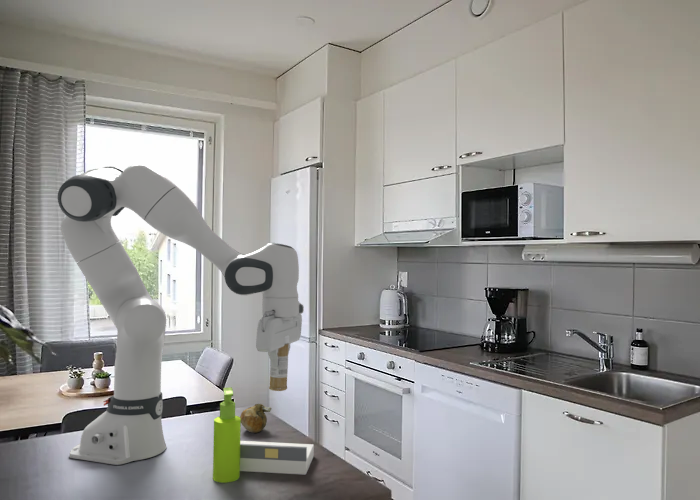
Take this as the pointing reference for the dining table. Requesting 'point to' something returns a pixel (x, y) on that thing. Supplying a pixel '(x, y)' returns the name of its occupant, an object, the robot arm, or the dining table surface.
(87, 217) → the robot arm
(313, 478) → the dining table surface
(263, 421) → the onion
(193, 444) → the dining table surface
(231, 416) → the soap dispenser
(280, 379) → the sprinkles bottle
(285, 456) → the white slab
